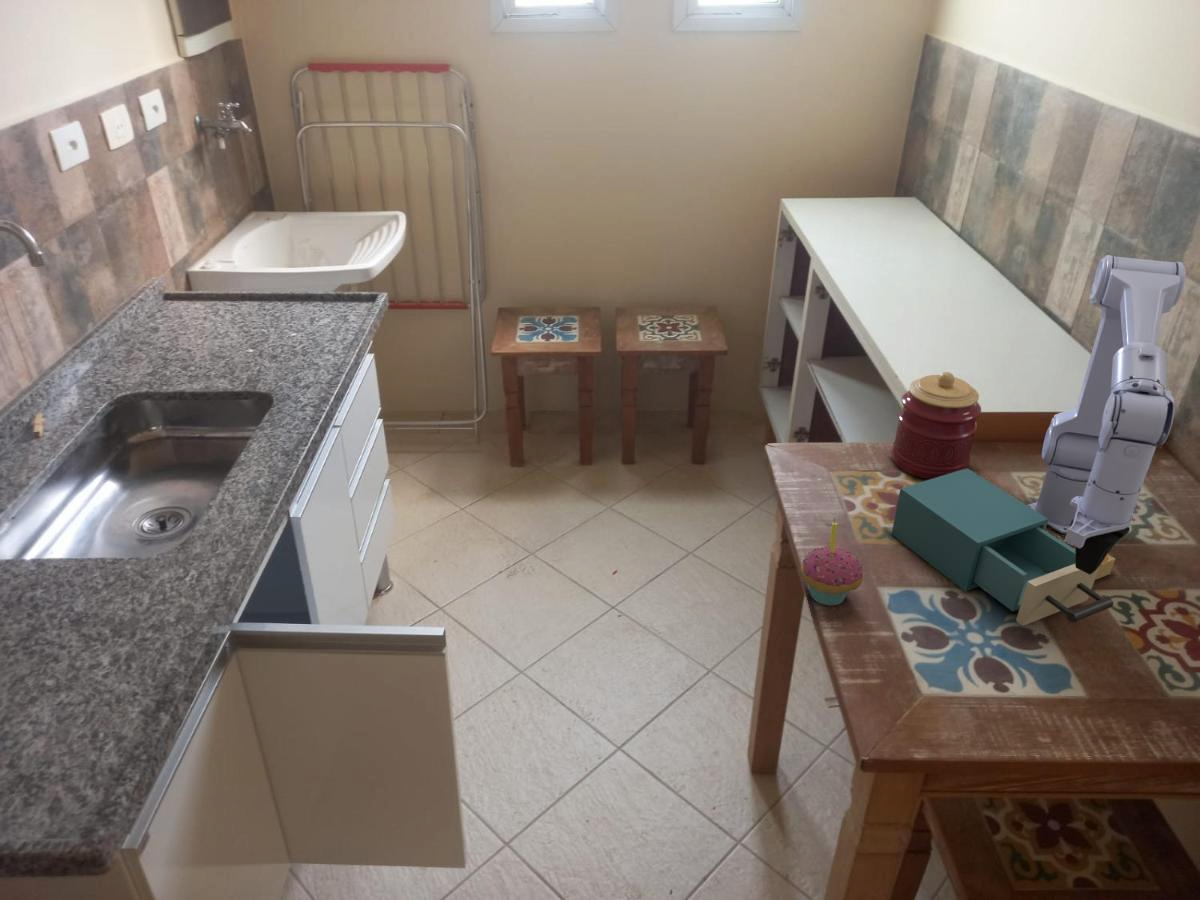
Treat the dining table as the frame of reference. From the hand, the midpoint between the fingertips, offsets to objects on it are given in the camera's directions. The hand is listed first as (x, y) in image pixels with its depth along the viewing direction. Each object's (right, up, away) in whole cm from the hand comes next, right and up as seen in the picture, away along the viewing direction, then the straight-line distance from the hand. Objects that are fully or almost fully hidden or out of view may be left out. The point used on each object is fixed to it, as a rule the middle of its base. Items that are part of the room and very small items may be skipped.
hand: (1085, 569), depth 115 cm
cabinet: (-9, 0, +19) cm, 21 cm away
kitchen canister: (-5, +13, +41) cm, 44 cm away
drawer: (-3, -4, +9) cm, 10 cm away
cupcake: (-31, -5, +10) cm, 33 cm away
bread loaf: (+7, -2, +14) cm, 15 cm away
